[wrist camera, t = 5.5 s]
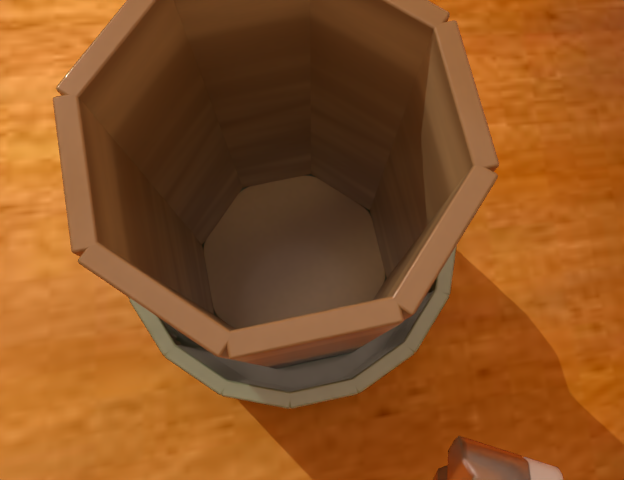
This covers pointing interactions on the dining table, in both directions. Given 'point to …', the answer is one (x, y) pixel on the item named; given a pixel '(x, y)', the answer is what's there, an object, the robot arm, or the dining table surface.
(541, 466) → the robot arm
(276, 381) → the gray bowl
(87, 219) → the octagonal wooden container
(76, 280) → the dining table surface
